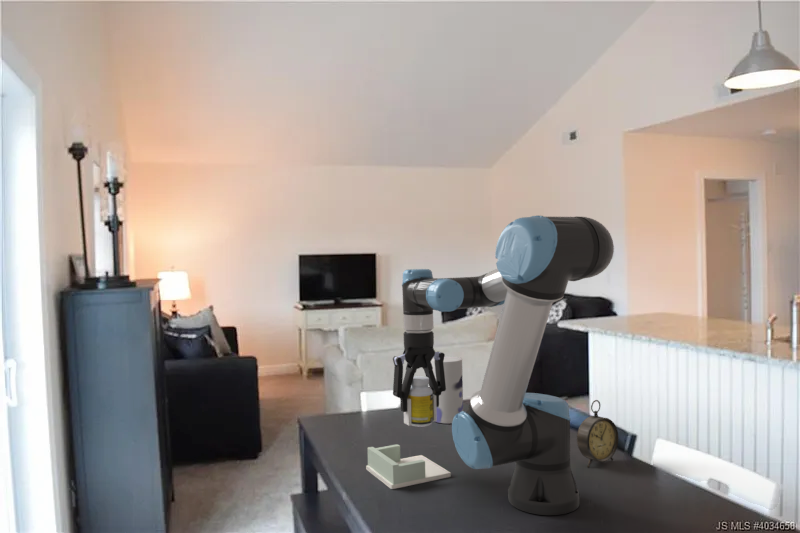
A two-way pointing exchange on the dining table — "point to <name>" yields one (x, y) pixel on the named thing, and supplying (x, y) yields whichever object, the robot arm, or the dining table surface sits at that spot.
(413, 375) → the robot arm
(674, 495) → the dining table surface
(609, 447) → the alarm clock
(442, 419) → the container
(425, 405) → the pill bottle
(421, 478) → the dock
